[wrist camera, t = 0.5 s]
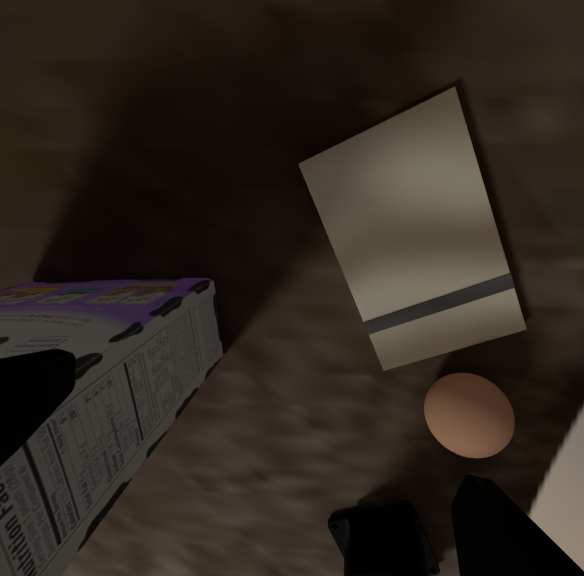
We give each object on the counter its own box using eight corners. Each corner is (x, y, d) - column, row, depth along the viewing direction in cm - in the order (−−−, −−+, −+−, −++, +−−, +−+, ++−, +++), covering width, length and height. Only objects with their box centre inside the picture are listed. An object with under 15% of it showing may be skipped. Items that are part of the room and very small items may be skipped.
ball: (502, 410, 20) (542, 468, 16) (429, 427, 21) (449, 485, 17) (482, 349, 19) (518, 394, 15) (407, 370, 20) (422, 417, 16)
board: (521, 324, 18) (527, 330, 18) (382, 365, 20) (383, 371, 20) (451, 90, 16) (455, 86, 15) (299, 164, 18) (297, 163, 17)
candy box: (52, 354, 25) (-448, 639, 9) (29, 278, 23) (-633, 471, 7) (226, 357, 22) (-53, 753, 7) (215, 274, 21) (-194, 546, 5)
